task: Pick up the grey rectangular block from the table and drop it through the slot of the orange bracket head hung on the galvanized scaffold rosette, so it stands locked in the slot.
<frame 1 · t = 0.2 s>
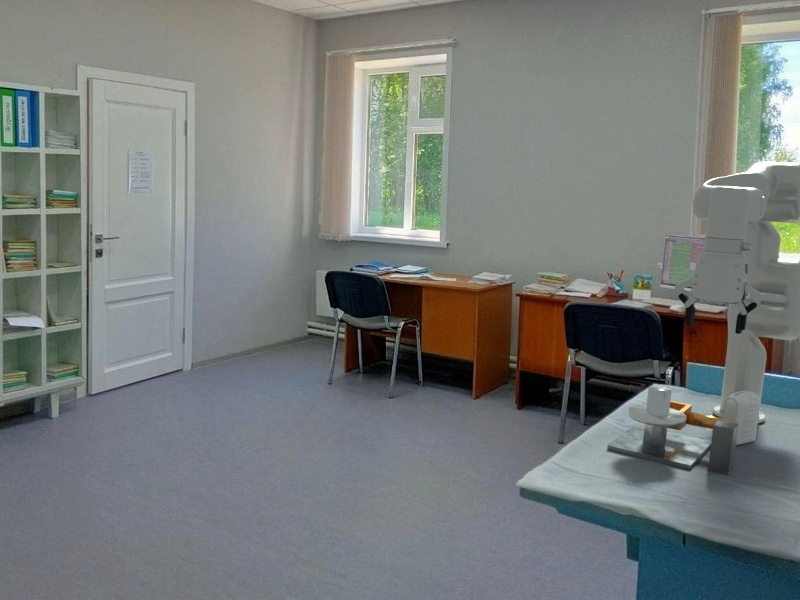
hand: (713, 329, 157), 30 cm above the table, fingers open, 9 cm apart
ringlock standard: (658, 449, 170), on the table
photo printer: (737, 442, 178), on the table
grey rectangular block: (720, 469, 160), on the table
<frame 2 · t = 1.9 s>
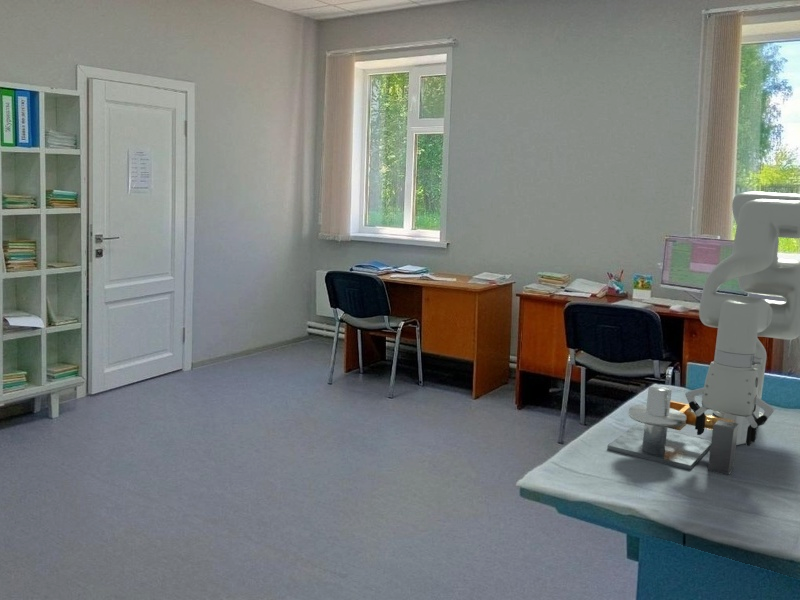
hand: (724, 438, 158), 7 cm above the table, fingers open, 9 cm apart
nothing on the table moved.
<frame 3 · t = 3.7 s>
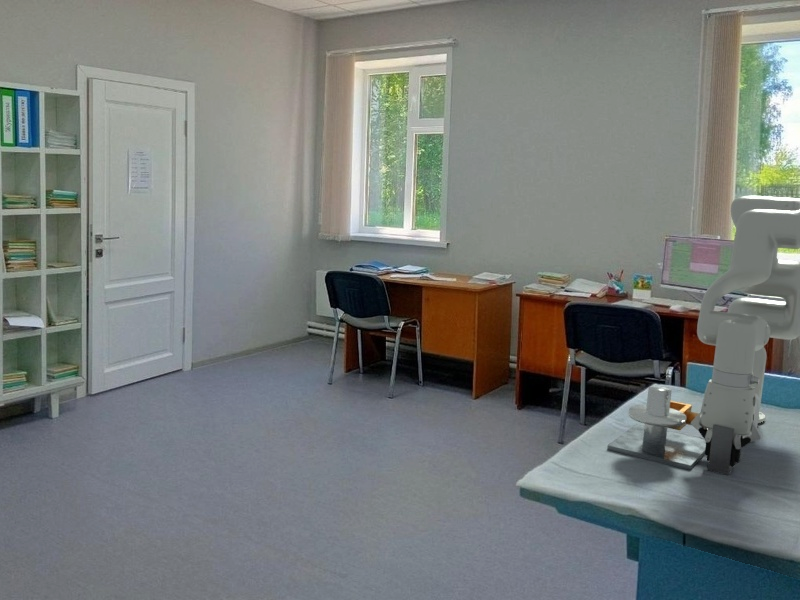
hand: (721, 461, 160), 2 cm above the table, fingers closed on grey rectangular block, 4 cm apart
grey rectangular block: (720, 469, 160), on the table, touching gripper
everything else where it was.
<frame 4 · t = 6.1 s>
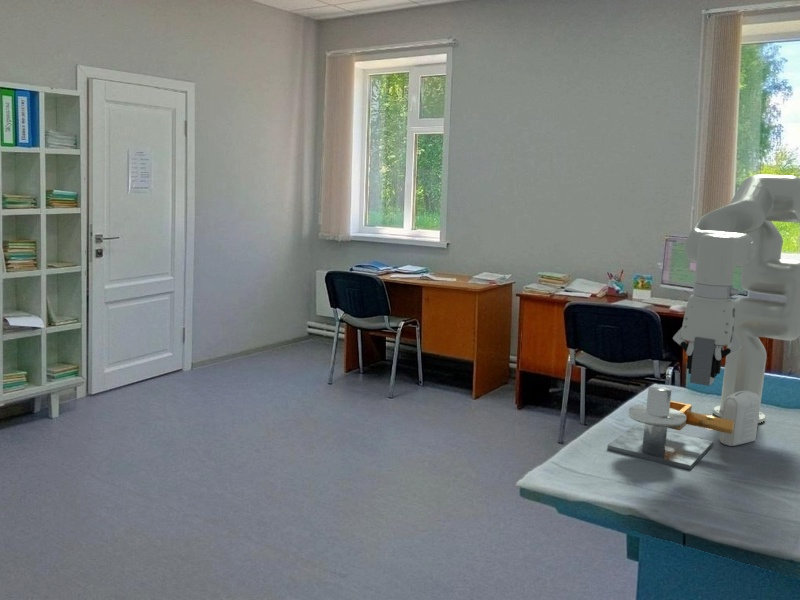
hand: (702, 373, 165), 19 cm above the table, fingers closed on grey rectangular block, 4 cm apart
grey rectangular block: (701, 381, 165), point 17 cm above the table, touching gripper
everything else where it was.
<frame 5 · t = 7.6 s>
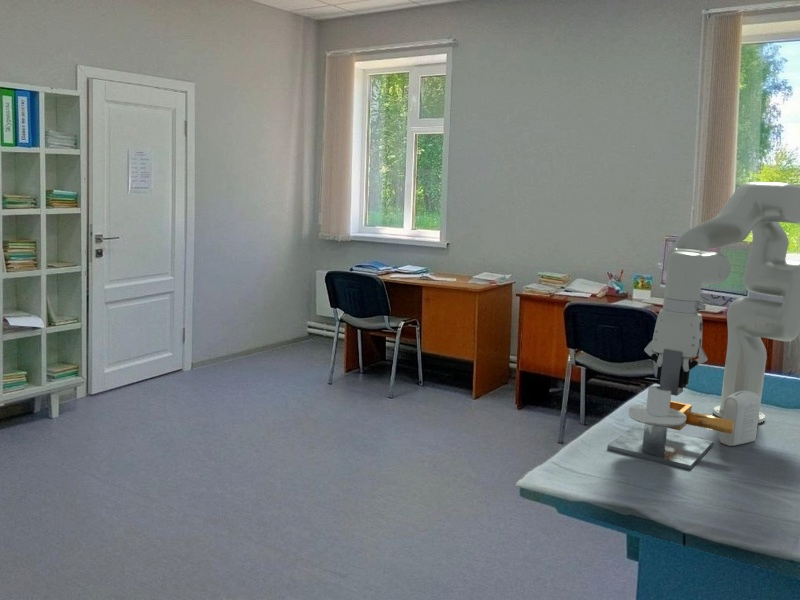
hand: (671, 384, 173), 14 cm above the table, fingers closed on grey rectangular block, 4 cm apart
grey rectangular block: (671, 391, 173), point 12 cm above the table, touching gripper
everything else where it was.
when the fingers open (12 cm above the table, at t = 8.6 s): grey rectangular block drops 9 cm, resting on ringlock standard.
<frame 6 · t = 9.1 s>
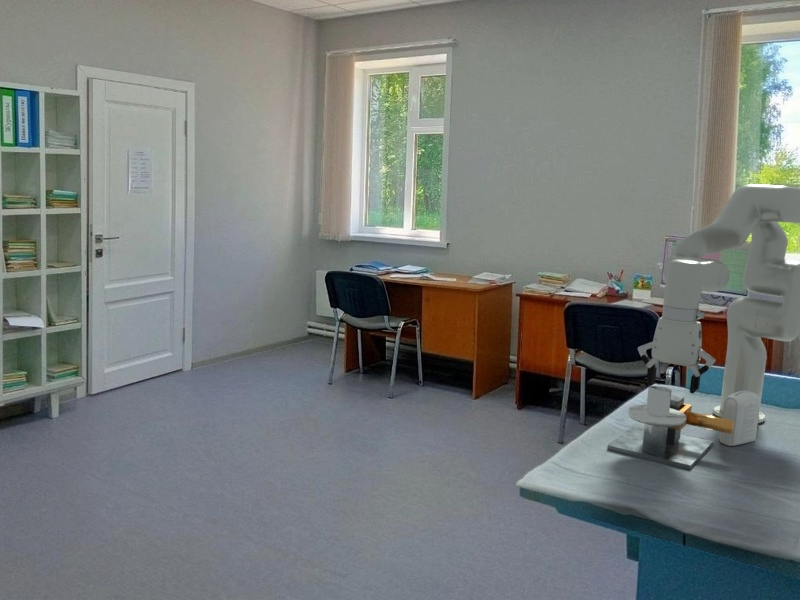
hand: (671, 388, 173), 13 cm above the table, fingers open, 9 cm apart
grey rectangular block: (668, 438, 175), point 1 cm above the table, touching ringlock standard
everything else where it was.
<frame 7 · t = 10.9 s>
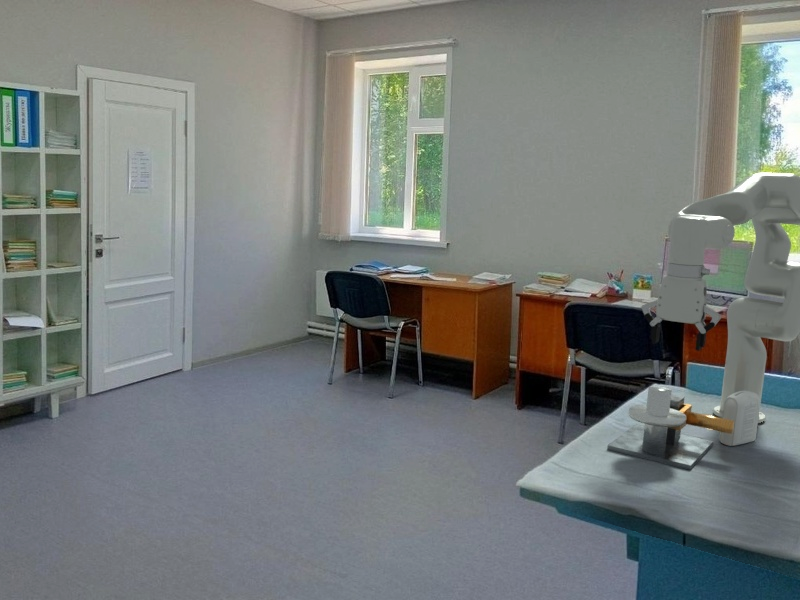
hand: (676, 346, 172), 23 cm above the table, fingers open, 9 cm apart
nothing on the table moved.
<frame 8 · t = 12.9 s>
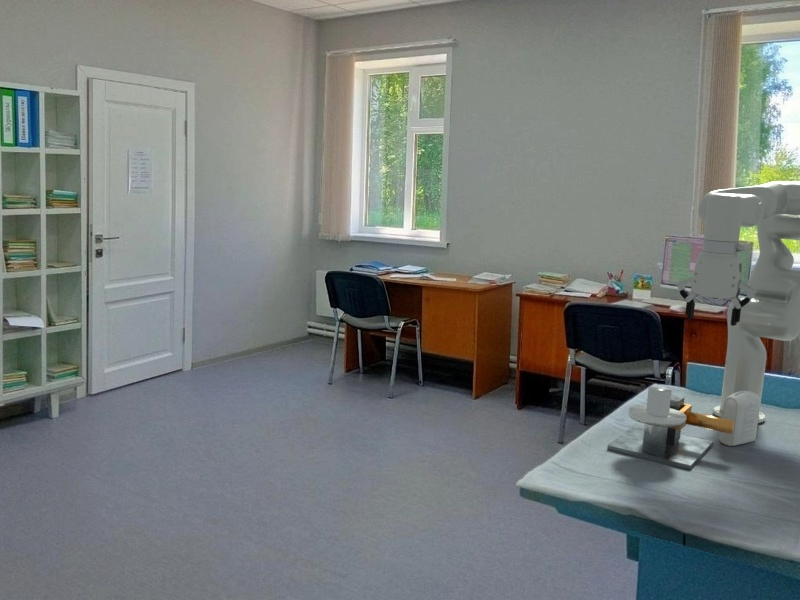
hand: (711, 321, 175), 28 cm above the table, fingers open, 9 cm apart
nothing on the table moved.
at the end: grey rectangular block 0.4 cm from the target spot on the ringlock standard, point 1.0 cm above the ringlock standard's base; grey rectangular block tilted 0°; the gripper is holding nothing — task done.
